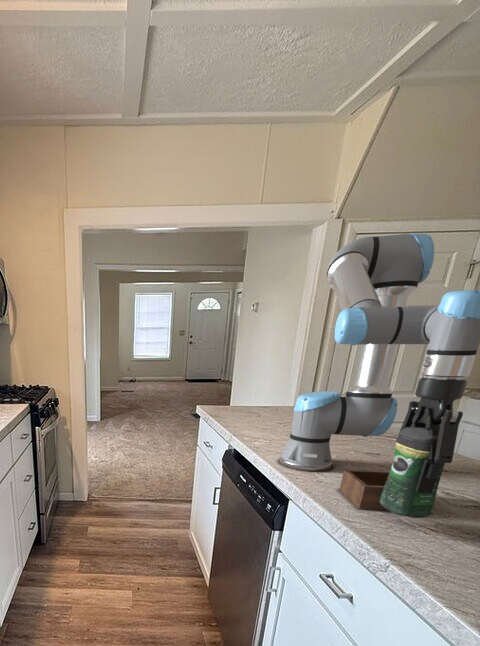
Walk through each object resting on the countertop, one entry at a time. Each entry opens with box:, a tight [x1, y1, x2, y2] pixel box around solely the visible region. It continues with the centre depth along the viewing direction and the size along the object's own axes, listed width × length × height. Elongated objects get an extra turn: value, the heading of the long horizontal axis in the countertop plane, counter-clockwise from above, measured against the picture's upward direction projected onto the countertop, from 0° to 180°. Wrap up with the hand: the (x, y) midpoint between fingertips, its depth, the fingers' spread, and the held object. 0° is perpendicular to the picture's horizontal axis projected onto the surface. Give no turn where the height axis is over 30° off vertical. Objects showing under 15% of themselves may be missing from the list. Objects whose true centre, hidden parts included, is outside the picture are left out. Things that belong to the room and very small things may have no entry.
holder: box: [339, 469, 391, 512], centre depth 103 cm, size 13×15×6 cm
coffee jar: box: [380, 427, 446, 519], centre depth 87 cm, size 10×8×19 cm
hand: (411, 484), depth 88 cm, fingers closed on coffee jar, 9 cm apart
